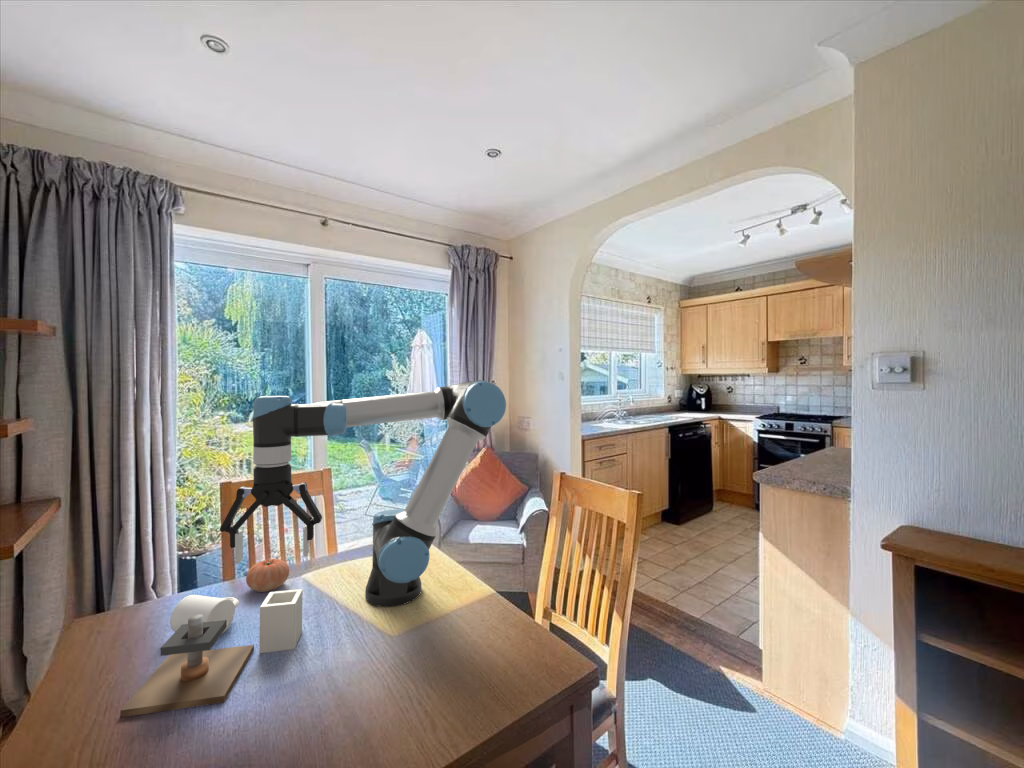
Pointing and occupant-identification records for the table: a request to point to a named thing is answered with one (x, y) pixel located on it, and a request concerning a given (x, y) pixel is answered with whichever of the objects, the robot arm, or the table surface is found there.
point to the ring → (193, 639)
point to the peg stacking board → (190, 677)
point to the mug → (203, 610)
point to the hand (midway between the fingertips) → (273, 557)
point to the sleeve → (280, 621)
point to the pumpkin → (267, 575)
